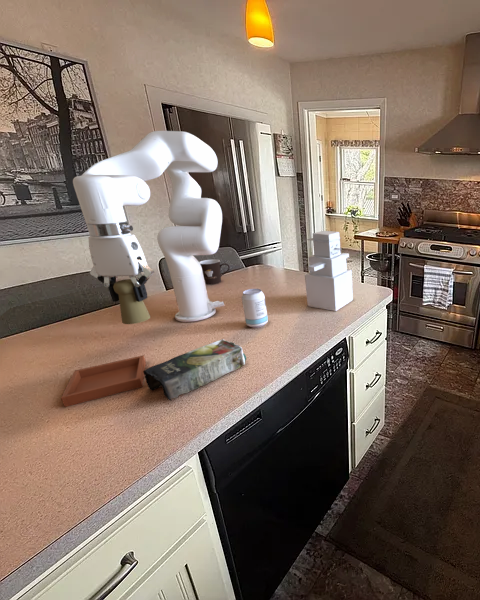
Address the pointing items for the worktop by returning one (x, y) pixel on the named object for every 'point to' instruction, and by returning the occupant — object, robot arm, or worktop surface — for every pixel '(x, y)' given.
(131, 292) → the cork
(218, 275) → the coffee mug
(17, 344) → the worktop surface
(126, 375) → the tray
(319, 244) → the blocky snowman figure
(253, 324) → the beverage can
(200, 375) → the juice carton
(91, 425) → the worktop surface
